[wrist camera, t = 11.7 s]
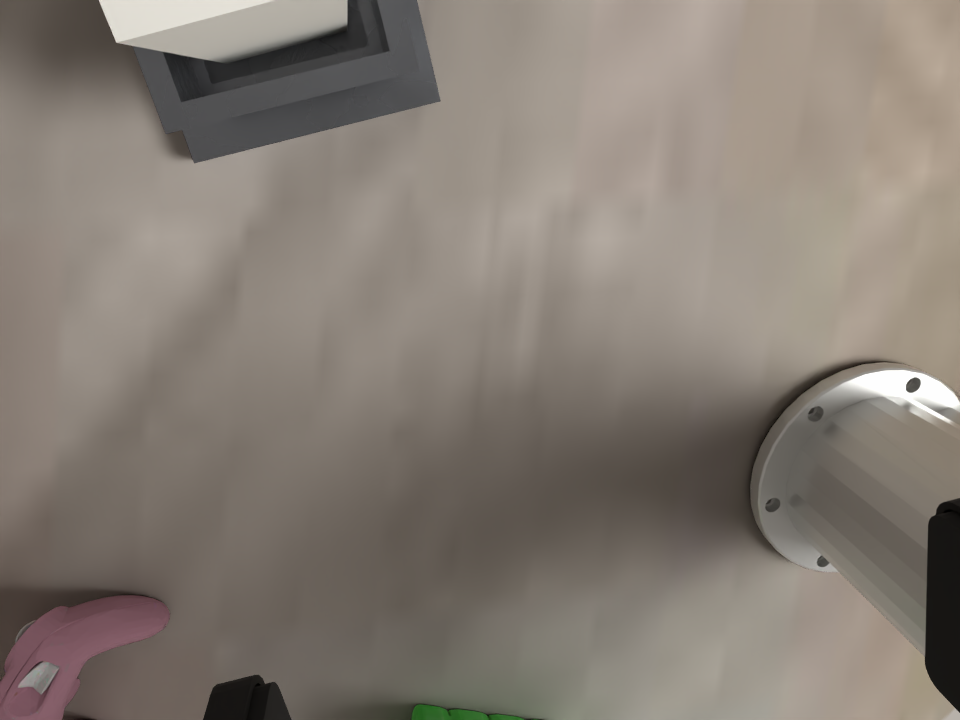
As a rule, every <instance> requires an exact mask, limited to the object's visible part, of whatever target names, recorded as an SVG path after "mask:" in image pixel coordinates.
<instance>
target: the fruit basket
mask: <svg viewBox="0 0 960 720" xmlns="http://www.w3.org/2000/svg"><path fill="white" fill-rule="evenodd" d="M411 720H524V719H522V718H520V717H515V716H507V715H500V714H495V715H489V716H487V715H486V714H483V713H481V712H476V711H468V710H461V709H455V710H449V711H447V710H446V709H443V708H441V707H437V706H430V705H422V704H418V705H416V706H415V707H414V710H413V712H412V718H411ZM533 720H538V719H533Z"/></svg>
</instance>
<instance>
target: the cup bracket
mask: <svg viewBox="0 0 960 720" xmlns="http://www.w3.org/2000/svg"><path fill="white" fill-rule="evenodd" d="M133 49H134V51H135V54H136V57H137V59H138V62H139V65H140V67H141V70H142V73H143V75H144V78H145V80H146V83H147V86H148V88H149V91H150V94H151V96H152V99H153V102H154V104H155V107H156V109H157V112H158V115H159V117H160V120H161V123H162V125H163V128H164V131H165V133H166V134H168V133H172V132H176V131H180V130H182V131H183V134H184V137H185V139H186V142H187V145H188V147H189V150H190V153H191V156H192V158H193V161H194V163H197V162H201V161H205V160H209V159H213V158H217V157H221V156H225V155H229V154H233V153H237V152H241V151H245V150H249V149H253V148H257V147H261V146H265V145H269V144H273V143H277V142H281V141H284V140H288V139H292V138H296V137H300V136H304V135H308V134H312V133H316V132H320V131H324V130H328V129H332V128H336V127H340V126H344V125H348V124H352V123H356V122H360V121H364V120H368V119H372V118H376V117H380V116H384V115H388V114H392V113H396V112H400V111H404V110H408V109H412V108H416V107H419V106H423V105H427V104H431V103H435V102H439V101H440V97H439V92H438V88H437V84H436V80H435V75H434V71H433V67H432V63H431V58H430V54H429V50H428V46H427V41H426V37H425V33H424V29H423V24H422V20H421V16H420V12H419V7H418V3H417V0H347V31H345V32H341V33H337V34H334V35H330V36H326V37H323V38H319V39H315V40H311V41H308V42H304V43H300V44H297V45H293V46H289V47H286V48H282V49H278V50H275V51H271V52H267V53H264V54H260V55H256V56H253V57H249V58H245V59H242V60H238V61H234V62H230V63H227V64H226V63H220V62H215V61H210V60H204V59H199V58H194V57H189V56H183V55H178V54H173V53H168V52H162V51H157V50H152V49H147V48H141V47H136V46H133Z"/></svg>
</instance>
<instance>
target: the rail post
mask: <svg viewBox="0 0 960 720" xmlns="http://www.w3.org/2000/svg"><path fill="white" fill-rule="evenodd" d="M99 2H100V4H101V7H102V9H103V11H104V14H105V16H106V19H107V21H108V24H109V26H110V28H111V31H112V33H113V36H114V38H115V41H116V43H120V44H126V45H131V46H136V47H141V48H147V49H152V50H157V51H162V52H168V53H173V54H178V55H183V56H189V57H194V58H199V59H204V60H210V61H215V62H220V63H226V64H227V63H230V62H234V61H238V60H242V59H245V58H249V57H253V56H256V55H260V54H264V53H267V52H271V51H275V50H278V49H282V48H286V47H289V46H293V45H297V44H300V43H304V42H308V41H311V40H315V39H319V38H323V37H326V36H330V35H334V34H337V33H341V32H345V31H347V0H99Z"/></svg>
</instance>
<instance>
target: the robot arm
mask: <svg viewBox="0 0 960 720" xmlns="http://www.w3.org/2000/svg"><path fill="white" fill-rule="evenodd" d="M750 494H751V507H752V510H753V514H754V518H755V521H756V523H757V525H758V527H759V529H760V530H761V532H762V534H763V536H764V537H765V538H766V539H767V540H768V541H769V542H770V544H771V545H772V546H773V547H774V548H775V549H776V550H777V551H778V552H779V553H780V554H781V555H783V556H784V557H785V558H786V559H788V560H789V561H791V562H793V563H795V564H797V565H799V566H801V567H803V568H806V569H810V570H814V571H818V572H839V573H841V574H842V575H843V576H844V577H845V578H846V579H847V580H848V581H849V582H850V583H851V584H852V585H853V586H854V587H855V588H856V589H857V590H858V591H859V592H860V593H861V594H862V595H863V596H864V597H865V598H866V599H867V600H868V601H869V602H870V603H871V604H872V605H873V606H874V607H875V608H876V609H877V610H878V611H879V612H880V613H881V614H882V615H883V616H884V617H885V618H886V619H887V620H888V621H889V622H890V623H891V624H892V625H893V626H894V627H895V628H896V629H897V630H898V631H899V632H900V633H901V634H902V635H903V636H904V637H905V638H906V639H907V640H908V641H909V642H910V643H911V644H912V645H913V646H914V647H915V648H916V649H918V650H919V651H920V652H921V653H922V654H923V655H924V656H925V666H926V669H927V672H928V675H929V677H930V679H931V681H932V682H933V684H934V685H935V687H936V688H937V689H938V690H939V691H940V693H941V694H942V695H943V696H944V697H945V698H946V699H947V700H948V701H949V702H950V703H951V704H952V705H953V706H954V707H955V708H956V709H957V710H958V711H959V712H960V400H959V399H958V397H957V396H956V394H955V393H954V391H953V390H952V389H950V388H949V387H948V386H947V385H946V384H944V383H943V382H942V381H941V380H940V379H938V378H936V377H934V376H932V375H930V374H928V373H926V372H924V371H922V370H920V369H917V368H914V367H911V366H908V365H905V364H898V363H888V362H881V363H871V364H863V365H859V366H856V367H852V368H849V369H846V370H842V371H840V372H838V373H836V374H834V375H832V376H830V377H828V378H826V379H824V380H822V381H820V382H819V383H817V384H816V385H814V386H813V387H811V388H810V389H809V390H807V391H806V392H804V393H803V394H802V395H800V396H799V397H798V398H797V399H796V400H795V401H794V402H793V403H792V404H791V405H790V406H789V407H788V408H787V409H786V410H785V411H784V412H783V413H782V415H781V416H780V417H779V418H778V420H777V421H776V422H775V424H774V425H773V426H772V427H771V429H770V431H769V433H768V434H767V436H766V438H765V440H764V442H763V443H762V445H761V447H760V450H759V452H758V455H757V458H756V461H755V464H754V466H753V472H752V478H751V485H750ZM203 720H291V718H290V715H289V712H288V710H287V707H286V705H285V702H284V699H283V697H282V694H281V691H280V689H279V687H278V685H277V684H276V683H275V682H272V683H268V684H265V683H264V681H263V679H262V678H261V677H260V676H259V675H253V676H249V677H245V678H241V679H237V680H233V681H229V682H225V683H221V684H217V685H216V686H215V687H214V688H213V690H212V692H211V695H210V698H209V701H208V705H207V708H206V712H205V715H204V719H203Z"/></svg>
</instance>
